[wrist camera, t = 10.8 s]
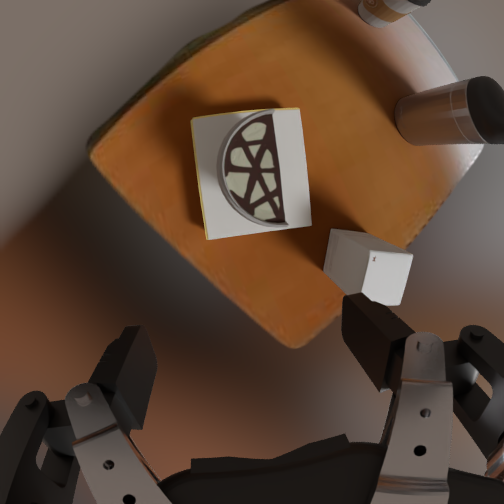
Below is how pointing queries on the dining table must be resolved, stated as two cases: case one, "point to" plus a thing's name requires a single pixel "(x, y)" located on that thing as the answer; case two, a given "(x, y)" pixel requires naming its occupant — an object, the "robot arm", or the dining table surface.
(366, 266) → the supplement box
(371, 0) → the coffee cup
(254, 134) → the food container
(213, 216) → the white flat block
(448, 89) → the robot arm
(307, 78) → the dining table surface
